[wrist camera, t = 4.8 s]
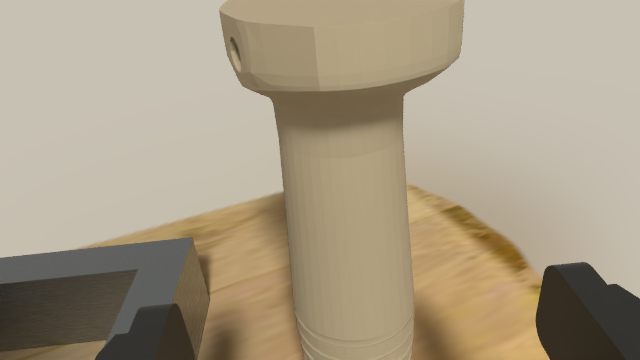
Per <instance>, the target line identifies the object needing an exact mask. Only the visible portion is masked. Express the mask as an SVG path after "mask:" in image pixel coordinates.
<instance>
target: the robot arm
mask: <svg viewBox="0 0 640 360" xmlns="http://www.w3.org/2000/svg"><path fill="white" fill-rule="evenodd" d="M536 328H537V333H538V336H539V339H540V342H541V344H542V346H543V348H544V349H545V351H546V353H547V355H548V356H549V358H550V360H640V299H639V298H638V297H636V296H634V295H633V294H631V293H630V292H628V291H627V290H625V289H624V288H622V287H620V286H619V285H617V284H610V285H607V284H606V283H605V281H604V280H603V279H602V278H601V277H600V275H599V274H598V273H597V272H596V271H595V270H594V269H593V267H591V265H589V264H588V263H585V262H581V263H571V264H561V265H551V266H548V267H547V268H546V269H545V271H544V276H543V281H542V286H541V292H540V297H539V302H538V308H537V313H536ZM95 360H195V355H194V350H193V347H192V344H191V341H190V338H189V334H188V331H187V328H186V325H185V322H184V319H183V316H182V313H181V310H180V307H179V306H178V304H176V303H172V304H163V305H153V306H143V307H140V308H139V309H138V311H137V313H136V315H135V317H134V320H133V322H132V325H131V327H130V330H129V332H128V333H124V334H116V335H115V336H114V337H113V338H112V339H111V340H110V341H109V342H108V343H107V345H106V346H105V347H104V348H103V349H102V350H101V351H100V352H99V353H98V355H97V356H96V358H95Z"/></svg>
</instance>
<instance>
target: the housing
mask: <svg viewBox="0 0 640 360" xmlns="http://www.w3.org/2000/svg"><path fill="white" fill-rule="evenodd" d="M209 301H210V299H209V295H208V292H207V288H206V284H205V281H204V277H203V274H202V270H201V266H200V263H199V259H198V256H197V252H196V249H195V245H194V241H193V238H192V237H190V238H181V239H172V240H162V241H153V242H144V243H134V244H125V245H116V246H107V247H97V248H88V249H79V250H69V251H60V252H52V253H42V254H32V255H23V256H14V257H5V258H0V351H6V350H15V349H24V348H34V347H43V346H52V345H61V344H71V343H80V342H89V341H99V340H107V341H106V344H105V346H106V345H107V343H108V342H109V341H110V340H111V339H112V338H113V337H114V336H115V335H116V334H124V333H128V332H129V330H130V327H131V325H132V322H133V320H134V317H135V315H136V313H137V311H138V309H139V308H140V307H143V306H153V305H163V304H172V303H176V304H178V306H179V307H180V310H181V313H182V316H183V319H184V322H185V325H186V328H187V331H188V334H189V338H190V341H191V344H192V347H193V350H194V355H195V360H197V356H198V352H199V347H200V342H201V338H202V333H203V329H204V324H205V319H206V315H207V310H208V306H209ZM105 346H104V347H105Z"/></svg>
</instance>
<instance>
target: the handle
mask: <svg viewBox="0 0 640 360" xmlns="http://www.w3.org/2000/svg"><path fill="white" fill-rule="evenodd" d="M219 12H220V18H221V24H222V30H223V36H224V41H225V46H226V51H227V56H228V58H229V60H230V62H231V64H232V66H233V69H234V71H235V73H236V75H237V77H238V79H239V81H240V83H241V84H242V86H243V87H245V88H247V89H250V90H252V91H254V92H257V93H259V94H261V95H264V96H267V97H269V98H270V99H271V100H272V102H273V105H274V112H275V118H276V124H277V130H278V136H279V145H280V155H281V166H282V177H283V187H284V198H285V208H286V219H287V231H288V243H289V255H290V267H291V280H292V292H293V302H294V308H295V314H296V319H297V325H298V331H299V336H300V340H301V345H302V349H303V353H304V357H305V360H411V356H412V346H413V335H414V286H413V273H412V260H411V247H410V233H409V220H408V206H407V190H406V174H405V159H404V141H403V96H404V95H405V93H407V92H409V91H410V90H412V89H414V88H416V87H418V86H421V85H423V84H425V83H427V82H428V81H430V80H431V79H433V78H434V77H436V76H437V75H438V74H440V73H441V72H443V71H444V70H445V69H447V68H448V67H449V66H450V65H451V64H452V63H454V62H455V61H456V60H457V59H458V58H459V55H460V51H461V45H462V32H463V17H464V0H228V1H227V2H225V3H224V4H223V5H222V6H221V7H220V10H219Z"/></svg>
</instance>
